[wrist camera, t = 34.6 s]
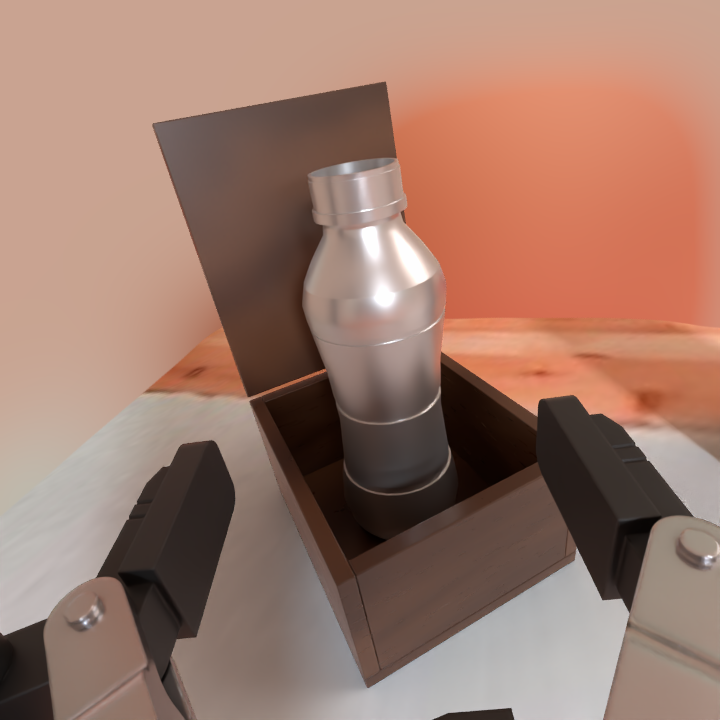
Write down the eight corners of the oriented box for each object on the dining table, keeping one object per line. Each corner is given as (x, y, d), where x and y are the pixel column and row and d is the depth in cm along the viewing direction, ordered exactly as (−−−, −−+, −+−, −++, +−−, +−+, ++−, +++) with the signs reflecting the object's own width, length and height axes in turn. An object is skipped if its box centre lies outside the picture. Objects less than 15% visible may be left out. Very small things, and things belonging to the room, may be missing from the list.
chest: (575, 560, 25) (589, 451, 21) (367, 689, 21) (336, 586, 17) (428, 421, 36) (419, 336, 33) (279, 488, 33) (249, 400, 29)
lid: (386, 81, 25) (352, 93, 29) (152, 123, 21) (150, 131, 25) (421, 332, 32) (390, 315, 36) (248, 397, 28) (234, 370, 32)
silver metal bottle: (352, 479, 31) (282, 169, 21) (452, 468, 31) (428, 144, 21) (349, 563, 26) (251, 197, 16) (470, 552, 25) (449, 164, 15)
